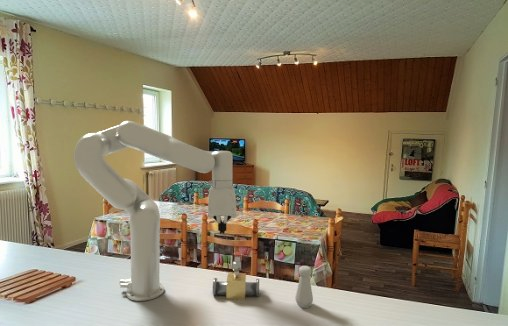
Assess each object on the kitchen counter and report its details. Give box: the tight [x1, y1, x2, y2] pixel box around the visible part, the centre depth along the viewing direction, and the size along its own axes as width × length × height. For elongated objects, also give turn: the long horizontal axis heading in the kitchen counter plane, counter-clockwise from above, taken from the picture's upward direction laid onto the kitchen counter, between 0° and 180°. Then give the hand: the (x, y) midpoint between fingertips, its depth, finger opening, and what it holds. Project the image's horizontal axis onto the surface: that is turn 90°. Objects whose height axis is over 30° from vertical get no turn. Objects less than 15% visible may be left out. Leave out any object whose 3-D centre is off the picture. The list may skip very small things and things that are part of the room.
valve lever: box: [232, 250, 243, 272], centre depth 116 cm, size 12×3×3 cm, turn 0°
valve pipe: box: [212, 270, 260, 300], centre depth 112 cm, size 16×6×9 cm, turn 90°
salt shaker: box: [295, 265, 314, 309], centre depth 106 cm, size 6×6×13 cm
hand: (222, 232), depth 119 cm, fingers closed
